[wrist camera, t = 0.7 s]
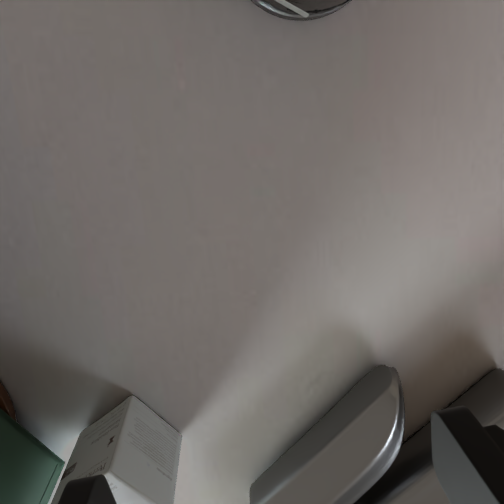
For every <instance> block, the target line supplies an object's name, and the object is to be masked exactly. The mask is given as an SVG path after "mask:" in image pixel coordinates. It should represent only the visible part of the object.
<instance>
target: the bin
mask: <svg viewBox="0 0 504 504" xmlns="http://www.w3.org/2000/svg"><path fill="white" fill-rule="evenodd" d="M64 464H65V462H64V461H63V460H62V459H60V458H59V457H58V456H57V455H56V454H54V453H53V452H52V451H51V450H50V449H48V448H47V447H46V446H45V445H44V444H42V443H41V442H40V441H39V440H38V439H36V438H35V437H34V436H33V435H32V434H30V433H29V432H28V431H27V430H26V429H24V428H23V427H22V426H21V425H20V424H18V423H17V422H16V421H15V420H14V419H12V418H11V417H10V416H9V415H8V414H7V413H5V412H4V411H3V410H2V409H1V408H0V504H47V503H48V501H49V499H50V496H51V494H52V492H53V489H54V487H55V485H56V483H57V480H58V478H59V476H60V473H61V471H62V469H63V466H64Z"/></svg>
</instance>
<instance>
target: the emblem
mask: <svg viewBox="0 0 504 504" xmlns="http://www.w3.org/2000/svg"><path fill="white" fill-rule="evenodd" d="M458 406H465V407H467V408H468V409H469V410H470V411H471V412H472V414H473V415H474V416H475V417H476V419H477V420H478V421H479V422H480V424H481V425H482V426H483V427H485V426H490V425H497V426H498V427H500V428H502V429H503V430H504V370H502V369H498V368H497V369H495V370H493V371H491V372H490V373H489V374H487V375H486V376H485V377H484V378H482V379H481V380H480V381H479V382H478V383H476V384H475V385H474V386H473V387H472V388H470V389H469V390H468V391H467V392H466V393H464V394H463V395H462V396H461V397H459V398H458V399H457V400H456V401H455V402H453V403H452V404H451V405H450V406H449V407H447V408H446V409H448V408H453V407H458ZM404 424H405V408H404V397H403V390H402V385H401V381H400V377H399V375H398V372H397V370H396V369H395V368H394V367H388V366H386V365H379V366H377V367H375V368H374V369H372V370H371V371H370V372H369V373H368V374H367V375H366V376H365V377H364V378H363V379H362V380H361V381H360V382H359V383H358V384H357V385H356V386H355V387H354V388H353V389H352V390H351V391H350V392H349V393H348V394H347V395H345V396H344V397H343V398H342V399H341V400H340V401H339V402H338V403H337V404H336V405H335V406H334V407H333V408H332V409H331V410H330V411H329V412H328V413H327V414H326V415H325V416H324V417H323V418H322V419H321V420H320V421H319V422H318V423H317V424H316V425H315V426H314V427H312V428H311V429H310V430H309V431H308V432H307V433H306V434H305V435H304V436H303V437H302V438H301V439H300V440H299V441H298V442H297V443H295V444H294V445H293V446H292V447H291V448H290V449H289V450H288V451H287V452H286V453H285V454H284V455H283V456H282V457H280V458H279V459H278V460H277V461H276V462H275V463H274V464H273V465H272V466H271V467H270V468H269V469H267V470H266V471H265V472H264V473H263V474H262V475H261V476H260V477H259V478H258V479H257V480H256V481H255V482H254V483H253V484H252V485H251V487H250V504H451V503H450V501H449V499H448V497H447V496H446V494H445V492H444V490H443V489H442V487H441V485H440V483H439V480H438V478H437V475H436V472H435V469H434V465H433V460H432V441H431V422H429V423H428V424H427V425H426V426H424V427H423V428H422V429H421V430H420V431H418V432H417V433H416V434H415V435H414V436H412V437H411V438H410V439H409V440H408V441H406V442H405V443H404V444H403V445H402V446H401V444H402V440H403V434H404Z"/></svg>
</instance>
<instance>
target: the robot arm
mask: <svg viewBox="0 0 504 504" xmlns="http://www.w3.org/2000/svg"><path fill="white" fill-rule="evenodd" d="M251 1H252V2H253V3H255V4H256V5H257V6H258V7H260V8H262V9H263V10H265V11H266V12H268V13H270V14H272V15H275V16H278V17H281V18H285V19H289V20H313V19H317V18H321V17H324V16H327V15H329V14H332V13H334V12H336V11H337V10H339V9H341V8H342V7H344V6H345V5H346V4H348V3H349V2H351V1H352V0H251ZM431 441H432V460H433V465H434V469H435V472H436V475H437V478H438V480H439V483H440V485H441V487H442V489H443V490H444V492H445V494H446V496H447V497H448V499H449V501H450V503H451V504H504V430H503V429H502V428H500V427H498V426H497V425H490V426H485V427H483V426H482V425H481V424H480V422H479V421H478V420H477V419H476V417H475V416H474V415H473V414H472V412H471V411H470V410H469V409H468V408H467V407H465V406H458V407H453V408H448V409H442V410H437V411H433V412H432V413H431ZM58 504H117V503H116V501H115V498H114V496H113V494H112V491H111V489H110V487H109V484H108V482H107V479H106V478H105V476H104V475H102V474H100V475H95V476H90V477H85V478H79V479H74V480H70V481H69V482H68V483H67V484H66V486H65V488H64V490H63V492H62V495H61V497H60V500H59V502H58Z"/></svg>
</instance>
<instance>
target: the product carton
mask: <svg viewBox="0 0 504 504" xmlns="http://www.w3.org/2000/svg"><path fill="white" fill-rule="evenodd" d="M181 441H182V435H181V434H180V433H179V432H177V431H176V430H175V429H174V428H173V427H171V426H170V425H169V424H168V423H167V422H165V421H164V420H163V419H162V418H160V417H159V416H158V415H157V414H156V413H154V412H153V411H152V410H151V409H150V408H148V407H147V406H146V405H145V404H144V403H142V402H141V401H140V400H139V399H137V398H136V397H135V396H133V395H132V396H130V397H128V398H127V399H126V400H125V401H123V402H122V403H121V404H120V405H118V406H117V407H116V408H114V409H113V410H112V411H110V412H109V413H108V414H106V415H105V416H103V417H102V418H101V419H99V420H98V421H96V422H95V423H93V424H92V425H90V426H89V427H87V428H86V429H84V430H83V431H82V432H81V433H80V435H79V438H78V440H77V442H76V445H75V447H74V450H73V452H72V454H71V457H70V459H69V462H68V464H67V466H66V469H65V471H64V474H63V476H62V478H61V481H60V483H59V486H58V488H57V491H56V493H55V495H54V498H53V500H52V503H51V504H58V502H59V500H60V497H61V495H62V492H63V490H64V488H65V486H66V484H67V483H68V482H69V481H70V480H74V479H79V478H85V477H90V476H95V475H100V474H102V475H104V476H105V478H106V479H107V482H108V484H109V487H110V489H111V491H112V494H113V496H114V498H115V501H116V503H117V504H173V503H174V495H175V487H176V479H177V472H178V465H179V457H180V448H181Z"/></svg>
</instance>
